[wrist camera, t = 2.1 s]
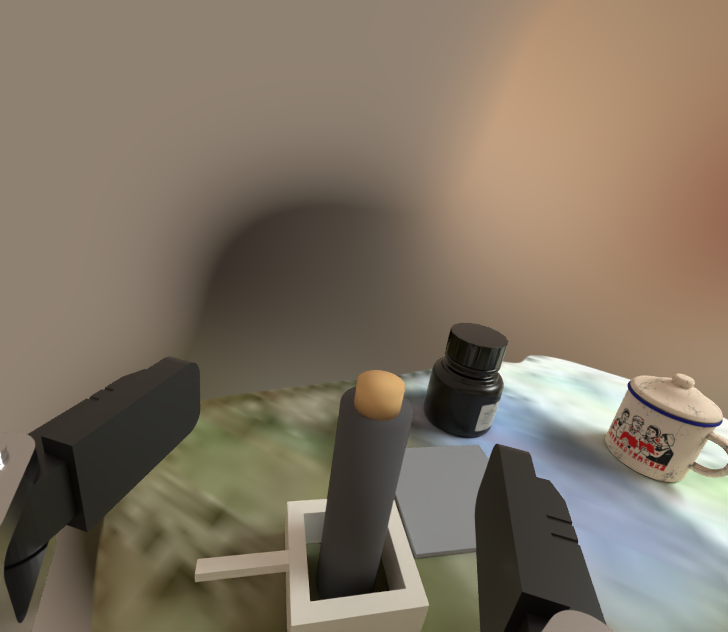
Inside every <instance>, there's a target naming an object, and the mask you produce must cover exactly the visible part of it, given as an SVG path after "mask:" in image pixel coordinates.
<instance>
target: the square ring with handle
mask: <svg viewBox="0 0 728 632" xmlns="http://www.w3.org/2000/svg"><path fill="white" fill-rule="evenodd" d="M326 503H327V499H319V500H305V501H291V502H287V513H286V524H285V550H283V551H273V552H263V553H253V554H243V555H233V556H223V557H214V558H204V559H198V560H197V565H196V570H195V582H201V581H210V580H218V579H227V578H236V577H244V576H253V575H262V574H270V573H279V572H286V609H287V632H421V630H422V626H423V623H424V620H425V617H426V614H427V611H428V608H429V603H428V600H427V597H426V594H425V591H424V588H423V585H422V582H421V579H420V576H419V573H418V570H417V567H416V564H415V561H414V558H413V555H412V552H411V549H410V546H409V543H408V540H407V537H406V534H405V531H404V528H403V525H402V522H401V519H400V516H399V513H398V510H397V507H396V503H395V500H394V501H393V506H392V510H391V514H390V519H389V523H388V528H387V532H386V536H385V541H384V545H383V549H382V554H381V559H382V563H383V566H384V570H385V574H386V578H387V582H388V586H389V590H390V591H385V592H378V593H370V594H363V595H356V596H348V597H341V598H333V599H326V600H319V601H311V602H310V594H309V581H308V567H307V554H306V544H311V543H321V539H322V532H323V525H324V518H325V511H326Z"/></svg>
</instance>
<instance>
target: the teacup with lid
mask: <svg viewBox="0 0 728 632" xmlns="http://www.w3.org/2000/svg"><path fill="white" fill-rule="evenodd" d="M694 384H695V382H694V380H693V379H692V378H690V377H689V376H686V375H683V374H675V375H674V376H673V377H672V378H666V377H661V378H659V377H654V376H638V377H635V378H633V379H632V380H631V381H630V382H629V383H628V390H627V392H626V395H625V397H624V399H623V401H622V403H621V405H620V407H619V409H618V411H617V413H616V415H615V418H614V420H613V422H612V424H611V426H610V428H609V430H608V432H607V434H606V437H605V441H606V445H607V447H608V448H609V450H610V451H611V453H612V454H613V455H614V456H615V457H616V458H617V459H619V460H620V461H621V462H622V463H624V464H625V465H626V466H628V467H630V468H631V469H633V470H635V471H636V472H638V473H640V474H642V475H645V476H647V477H650V478H653V479H656V480H660V481H665V482H678V481H681V480H683V479H684V478H685V477H686V475H687V473H688V472H689V470H690V469H691V470H693V471H695V472H697V473H699V474H701V475H703V476H707V477H723V476H726V475H728V464H727V465H726V466H725V467H724V468H722V469H717V470H713V469H708V468H706V467H703V466H701V465H699V464H698V463H696V462H695V460H696V459H697V457H698V455H699V454H700V452H701V450H702V449H703V447H704V445H705V444H706V442H707V441H708V439H709V440H711V441H713V442H714V443H716V444H718V445H719V446H721V447H722V448H723V449H724V450H725V451H726V453H727V454H728V440H726V439H725V438H723V437H721V436H720V435H718V434H716V433H714V432H713V431H714V429H715V427H717V426H719V425H720V424H721V423H722V418H723V416H722V412H721V410H720V409H719V407H718V406H717V405H716V404H715V403H713V402H712V401H711V400H710V399H708V398H707V397H705V396H704V395H702V394H701V392H700V391H698V390H697V389H696V388H694V387H693V386H694Z"/></svg>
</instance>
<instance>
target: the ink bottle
mask: <svg viewBox="0 0 728 632" xmlns="http://www.w3.org/2000/svg"><path fill="white" fill-rule="evenodd" d="M508 342H509V341H508V340H507V339H506V337H505V336H504V335H502V334H501V333H500V332H498V331H496V330H493V329H491V328H489V327H486V326H482V325H479V324H472V323H458V324H455V325H453V326H452V328H451V330H450V334H449V337H448V342H447V346H446V351H445V356H444V357H442V358H440V359H438V360H437V361H436V362H435V364H434V366H433V368H432V372H431V377H430V381H429V385H428V389H427V393H426V397H425V402H424V410H425V413H426V415H427V417H428V418H429V420H430V421H431V422H432V423H433V424H434V425H436V426H437V427H439V428H440V429H442V430H444V431H447V432H449V433H452V434H456V435H460V436H466V437H476V436H481V435H484V434H485V433H487V432H488V431H489V429H490V428H491V425H492V423H493V420H494V416H495V413H496V411H497V408H498V404H499V401H500V398H501V395H502V392H503V387H504V383H503V379H502V377H501V376H500V374H499V373H498V371H499V370H500V367H501V364H502V361H503V358H504V355H505V351H506V348H507V345H508Z"/></svg>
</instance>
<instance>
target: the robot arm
mask: <svg viewBox="0 0 728 632" xmlns="http://www.w3.org/2000/svg"><path fill="white" fill-rule="evenodd" d="M199 415H200V372H199V367H198V365H197V364H196V363H193V362H189V361H185V360H181V359H178V358H174V357H166V358H164V359H162V360H161V361H159V362H158V363H156V364H154V365H153V366H151V367H150V368H148V369H144V370H141V371H138V372H135V373H132V374H129V375H126V376H123V377H122V378H120V379H118V380H117V381H115V382H113V383H112V384H110V385H108V386H107V387H106V388H105V390H100V391H98V392H97V393H95V394H93V395H92V396H91V397H90V399H85V400H84V401H82V402H80V403H79V404H77V405H75V406H74V407H72V408H70V409H69V410H67V411H66V412H64V413H62V414H60V415H59V416H57V417H55V418H54V419H52V420H51V421H49V422H47V423H46V424H44V425H42V426H41V427H39V428H37V429H36V430H34V431H32V432H31V433H29V434H23V433H18V432H6V433H0V632H32V628H33V625H34V621H35V617H36V614H37V611H38V607H39V604H40V600H41V597H42V593H43V589H44V586H45V582H46V579H47V576H48V572H49V569H50V565H51V562H52V558H53V555H54V551H55V547H56V534H57V533H58V532H59V531H60V530H61V529H62V528H64V527H65V526H66V525H68V526H71V527H74V528H77V529H80V530H82V531H85V532H88V531H89V530H90V529H91V528H92V527H93V526H94V525H95V524H97V523H98V521H100V520H101V519H102V518H103V517H104V516H105V515H106V514H107V513H108V512H109V511H110V510H111V509H112V508H113V507H114V506H115V505H116V504H117V503H118V502H119V501H120V500H121V499H122V498H123V497H124V496H125V495H126V494H128V493H129V492H130V491H131V490H132V489H133V488H134V487H135V486H136V485H137V484H138V483H139V482H140V481H141V480H142V479H143V478H144V477H145V476H146V475H147V474H148V473H149V472H150V471H151V470H152V469H153V468H154V467H155V466H156V465H157V464H159V463H160V462H161V461H162V460H163V459H164V458H165V457H166V456H167V455H168V454H169V453H170V452H171V451H172V450H173V449H174V448H175V447H176V446H177V445H178V444H179V443H180V442H181V441H182V440H183V439H184V438H185V437H186V436H187V435H188V434H189V433H190V432H191V431H192V430H193V429H194V427H195V425H196V423H197V421H198V418H199ZM475 535H476V555H477V574H478V594H479V613H480V632H614V631H613V630H612V629H610V628H609V627H608V626H607V625H606V622H605V620H604V617H603V614H602V611H601V608H600V605H599V602H598V599H597V596H596V593H595V590H594V587H593V584H592V581H591V578H590V575H589V572H588V569H587V566H586V563H585V559H584V556H583V553H582V550H581V547H580V545H578V538H577V535H576V532H575V529H574V527H573V526H572V520H571V517H570V514H569V511H568V508H567V505H566V502H565V500H564V499H563V498H562V496H561V495H560V494H559V492H558V491H557V490H556V488H555V487H554V486H553V484H552V483H551V482H550V481H549V480H546V479H542V478H538V477H536V474H535V470H534V466H533V462H532V458H531V455H530V453H529V452H526V451H522V450H519V449H515V448H511V447H507V446H503V445H500V444H496V445H495V446H494V448H493V450H492V453H491V455H490V458H489V461H488V464H487V467H486V470H485V473H484V476H483V478H482V481H481V484H480V487H479V490H478V494H477V498H476V504H475Z"/></svg>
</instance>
